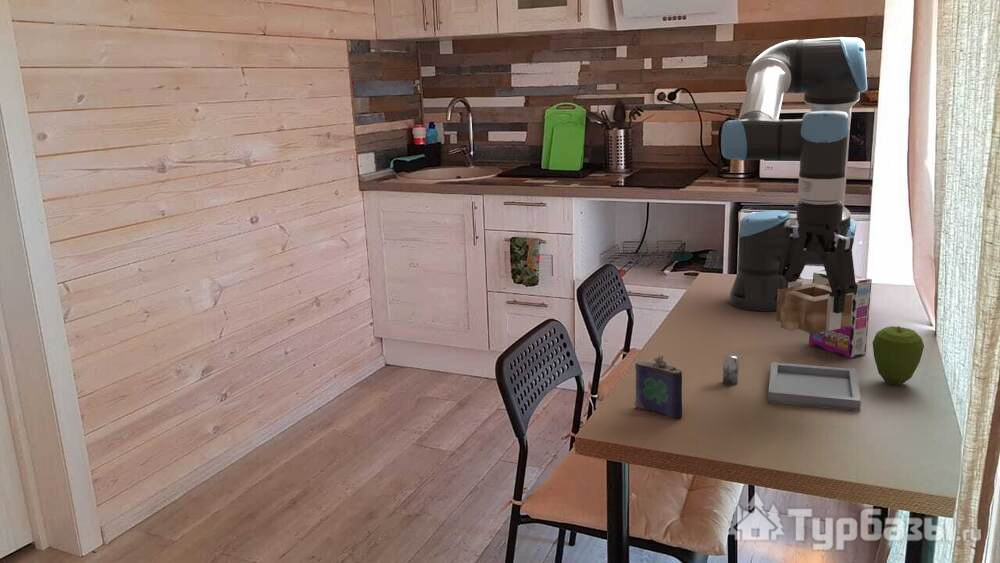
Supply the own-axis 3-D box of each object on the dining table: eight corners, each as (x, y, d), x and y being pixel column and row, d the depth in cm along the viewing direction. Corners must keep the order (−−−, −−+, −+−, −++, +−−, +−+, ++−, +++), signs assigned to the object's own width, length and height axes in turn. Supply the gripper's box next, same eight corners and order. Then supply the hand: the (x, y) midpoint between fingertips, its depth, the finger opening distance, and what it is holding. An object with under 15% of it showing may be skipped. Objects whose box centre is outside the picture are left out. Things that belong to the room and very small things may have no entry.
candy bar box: (867, 354, 166) (873, 278, 162) (850, 359, 164) (856, 282, 159) (823, 339, 176) (828, 267, 171) (807, 344, 173) (812, 271, 169)
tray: (771, 371, 159) (771, 362, 159) (855, 378, 154) (855, 369, 153) (768, 402, 145) (768, 392, 145) (860, 411, 140) (860, 400, 140)
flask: (632, 408, 145) (632, 353, 143) (641, 403, 147) (641, 348, 145) (677, 422, 139) (678, 364, 136) (686, 416, 141) (687, 359, 139)
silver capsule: (723, 379, 157) (724, 352, 155) (738, 380, 156) (739, 354, 154) (722, 384, 154) (722, 357, 153) (737, 386, 153) (738, 359, 152)
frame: (767, 322, 148) (768, 291, 146) (812, 312, 152) (814, 282, 151) (803, 335, 140) (805, 303, 138) (850, 325, 144) (852, 293, 143)
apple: (877, 392, 148) (882, 333, 145) (863, 374, 156) (868, 318, 153) (927, 392, 146) (933, 333, 143) (910, 375, 154) (916, 318, 151)
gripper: (760, 194, 149) (755, 309, 155) (853, 211, 129) (843, 342, 135) (791, 190, 151) (785, 303, 157) (887, 206, 132) (876, 334, 138)
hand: (812, 321), depth 146 cm, fingers closed on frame, 9 cm apart
